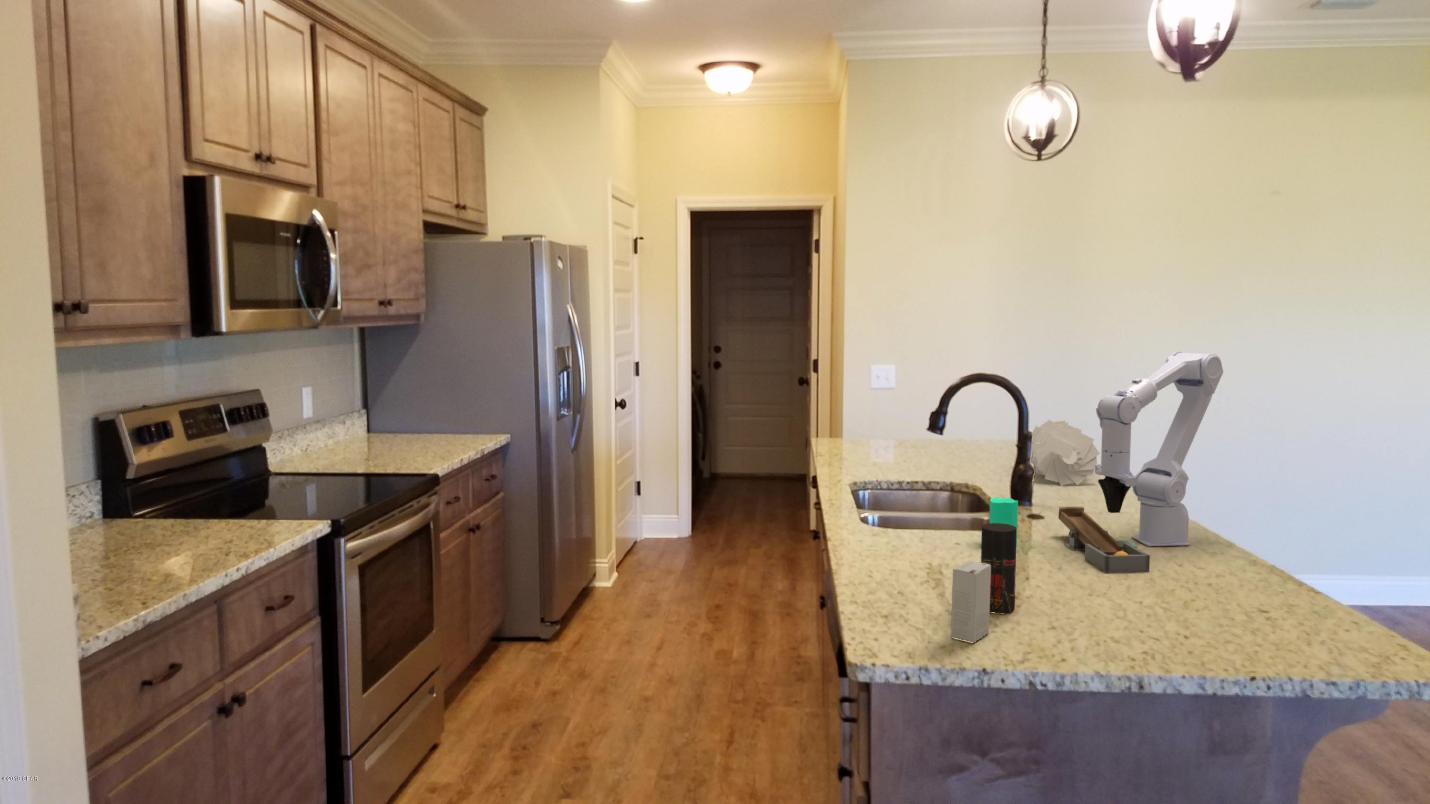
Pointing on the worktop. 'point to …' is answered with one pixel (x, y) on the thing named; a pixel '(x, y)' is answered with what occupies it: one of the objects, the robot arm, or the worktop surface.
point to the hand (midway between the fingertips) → (1113, 512)
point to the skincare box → (970, 601)
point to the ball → (1121, 553)
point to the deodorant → (1000, 564)
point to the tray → (1118, 559)
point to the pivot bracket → (1075, 542)
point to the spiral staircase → (1063, 453)
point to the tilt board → (1090, 530)
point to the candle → (1004, 511)
